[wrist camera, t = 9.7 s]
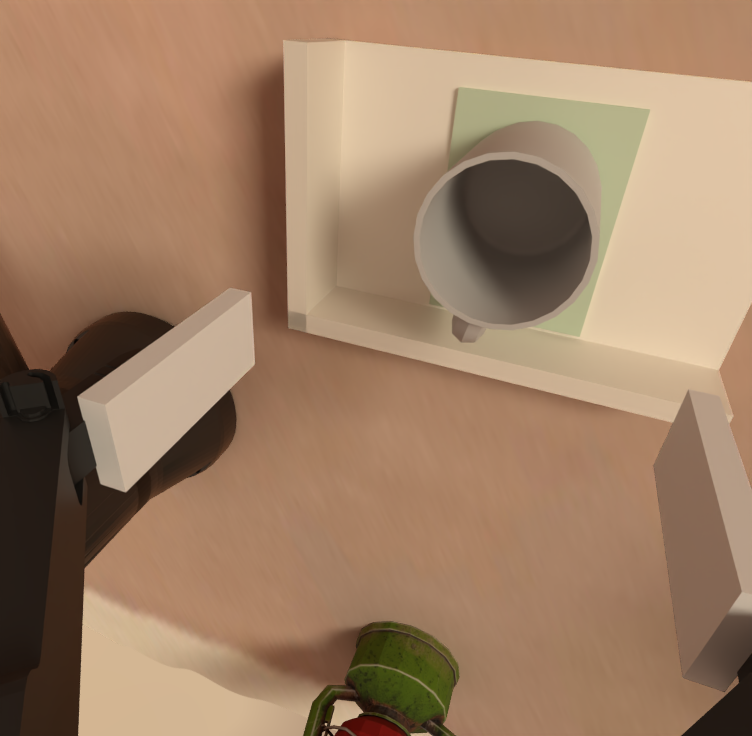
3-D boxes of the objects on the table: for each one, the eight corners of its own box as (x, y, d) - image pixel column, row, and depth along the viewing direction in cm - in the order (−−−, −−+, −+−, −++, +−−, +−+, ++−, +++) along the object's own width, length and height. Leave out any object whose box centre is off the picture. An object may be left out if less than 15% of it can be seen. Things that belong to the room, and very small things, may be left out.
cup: (630, 148, 27) (638, 193, 19) (540, 320, 32) (520, 404, 25) (488, 97, 27) (446, 122, 20) (426, 273, 33) (376, 341, 26)
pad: (430, 301, 34) (429, 304, 34) (460, 86, 28) (458, 87, 28) (579, 334, 32) (579, 336, 32) (650, 109, 26) (650, 110, 26)
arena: (322, 295, 38) (288, 328, 34) (327, 38, 29) (283, 40, 25) (708, 383, 32) (723, 435, 28) (849, 91, 24) (899, 105, 20)
